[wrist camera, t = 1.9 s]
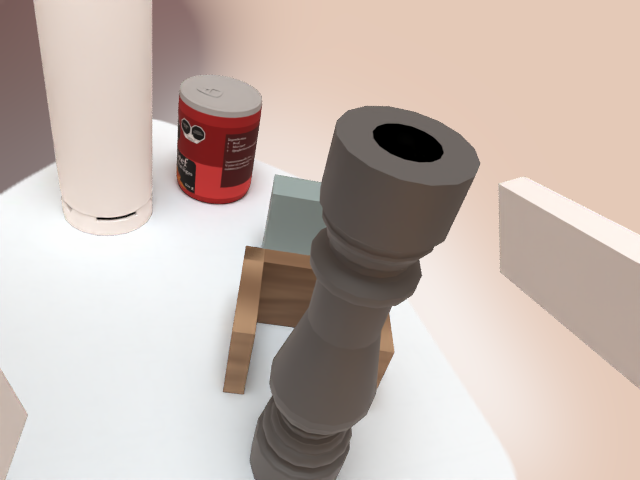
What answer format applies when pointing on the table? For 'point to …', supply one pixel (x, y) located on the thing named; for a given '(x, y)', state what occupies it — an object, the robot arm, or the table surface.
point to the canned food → (217, 137)
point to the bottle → (100, 108)
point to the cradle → (276, 307)
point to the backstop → (293, 215)
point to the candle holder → (358, 281)
